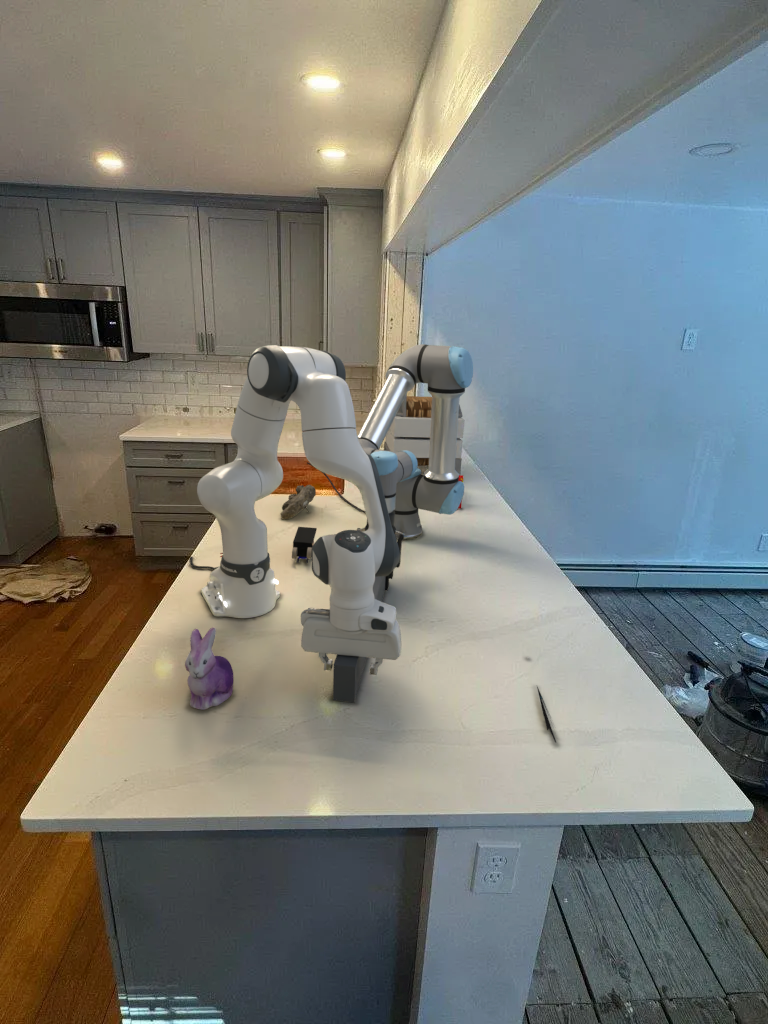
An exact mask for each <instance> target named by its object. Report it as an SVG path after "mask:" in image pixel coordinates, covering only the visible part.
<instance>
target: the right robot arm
mask: <svg viewBox="0 0 768 1024" xmlns="http://www.w3.org/2000/svg"><path fill="white" fill-rule="evenodd" d="M473 377H474V363H473V359H472V355H471V353H470V352H469V350H468V349H466V348H465V347H460V346H455V345H436V344H426V343H425V344H424V343H421V344H420V343H419V344H416V345H413V346H411V347H409V348H407V349H406V350H404V351H403V352H402V353H400V354H399V355H398V356H397V357H396V358H395V359H394V360H393V361H392V363H391V364H390V365H389V367H388V369H387V371H386V372H385V381H384V383H383V385H382V387H381V389H380V390H379V393H378V395H377V397H376V399H375V400H374V402H373V405H372V406H371V408H370V411H369V412H368V414H367V415H366V418H365V420H364V422H363V423H362V426H361V427H360V430H359V432H358V433H357V437H358V440H359V443H360V445H361V447H362V448H363V450H364V451H365V453H367V454H369V455H371V456H372V457H373V459H374V461H375V464H376V466H377V469H378V473H379V476H380V480H381V484H382V488H383V492H384V496H385V501H386V505H387V509H388V513H389V517H390V521H391V525H392V529H393V531H394V534H395V537H396V540H397V543H398V547H399V552H400V560H399V563H398V564H397V566H396V567H395V569H397V568H400V566H401V561H402V560H401V559H402V546H403V541H410V540H415V539H418V538H420V537H421V536H422V535H423V525H422V523H421V518H420V515H419V510H421V511H422V510H423V511H427V512H432V513H437V514H439V515H442V514H444V515H453V514H454V513H456V512H457V510H458V509H459V508H458V507H459V505H460V503H461V500H462V501H463V497H464V493H465V483H464V481H463V482H461V481H459V474H458V473H457V471H456V470H455V457H456V442H457V427H458V413H459V405H460V398H461V397H462V395H464V394H465V393H466V388H469V387H470V386H471V384H472V382H473ZM416 384H427V392H428V393H429V395H431V397H432V409H431V429H430V449H429V465H428V468H427V469H426V470H424V472H423V474H422V470H421V468H419V466H418V463H417V459H416V457H415V455H414V454H413V453H412V452H410V451H407V450H404V451H398V452H391V451H385V450H384V449H381V446H382V444H383V443H384V441H385V438H386V434H387V432H388V430H389V428H390V426H391V424H392V422H393V420H394V418H395V416H396V414H397V412H398V410H399V408H400V406H401V404H402V402H403V400H404V398H405V396H406V394H408V393H409V392H411V391H412V390H413V389H414V387H415V385H416ZM306 464H307V465H309V466H311V467H313V468H315V467H314V466H313V465H312V464H311V463H310V462H309V461H307V462H306ZM321 473H322V474H323V475H324V476H325V477H326V479H327V480H328V482H329V483H330V485H331V486H332V488H333V489H334V491H335V492H336V494H337V495H338V496H339V497H340V498H341V499H342V500H343V501H344V502H345V503H347V504H348V505H350V506H352V508H355V509H356V510H358V511H360V512H361V513H364V514H366V512H365V509H361V508H359V507H358V506H356V505H355V504H353V503H352V502H350V501H349V500H347V498H345V497H344V496H343V495H342V494H341V493H340V492H339V491H338V489H337V488H336V486H335V485H334V483H333V482H332V480H331V479H330V477H329V476H328V474H326V473H323V472H321ZM368 528H369V524H368V520H367V519H366V525H365V527H362V528H361V527H357V529H356V530H357V531H361V532H362V531H366V530H368ZM393 578H394V570H393V571H392V572H391V573H390V574H389V575H388V576H386V580H385V591H389V587H390V580H392V579H393Z"/></svg>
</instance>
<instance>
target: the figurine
mask: <svg viewBox="0 0 768 1024" xmlns="http://www.w3.org/2000/svg"><path fill="white" fill-rule="evenodd" d="M216 634H217V629H216V628H215V627H214V626H212V627H211V628H210V629H208V631H207V632H206V634H205V635H204V636H203V637H202V635H201V631H200V630H199V629H198V628H194V629H193V630H191V634H190V638H189V639H190V640H189V641H190V643H189V646H190V650H189V652H188V655H187V656H186V658H185V662H184V668H185V669H186V671H187V672H188V673H189V675H188V677H187V686H188V688H189V692H190V702H189V706H190V707H191V708H194V709H197V710H202V711H203V710H208V709H209V708H211V707H217V706H220V705H221V704H222V703H225V701H227V700H228V699H229V698H230V697H232V694H233V691H234V670H233V666H232V664H231V662H230V661H229V660H228V658H226V657H225V656H222V655H215V654H214V651H213V650H212V648H213V645H214V642H215V639H216Z"/></svg>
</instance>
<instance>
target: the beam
mask: <svg viewBox="0 0 768 1024" xmlns="http://www.w3.org/2000/svg"><path fill="white" fill-rule="evenodd" d="M385 580H386V576H379V577H375V582H374V584H373V593H374V599H376V600H378V601H381V602H383V601H384V597H385V593H386V590H385ZM367 659H368V657H358V656H348V655H338V654H336V657H335V659H334V661H333V667H332V669H333V674H332V675H333V678H332V680H333V681H332V700H333V701H337V702H345V703H351V704H352V703H354V704H355V702H356V699H357V696H358V692H359V688H360V684H361V680H362V676H363V673H364V671H365V670H364V669H365V666H366V663H367Z"/></svg>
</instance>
